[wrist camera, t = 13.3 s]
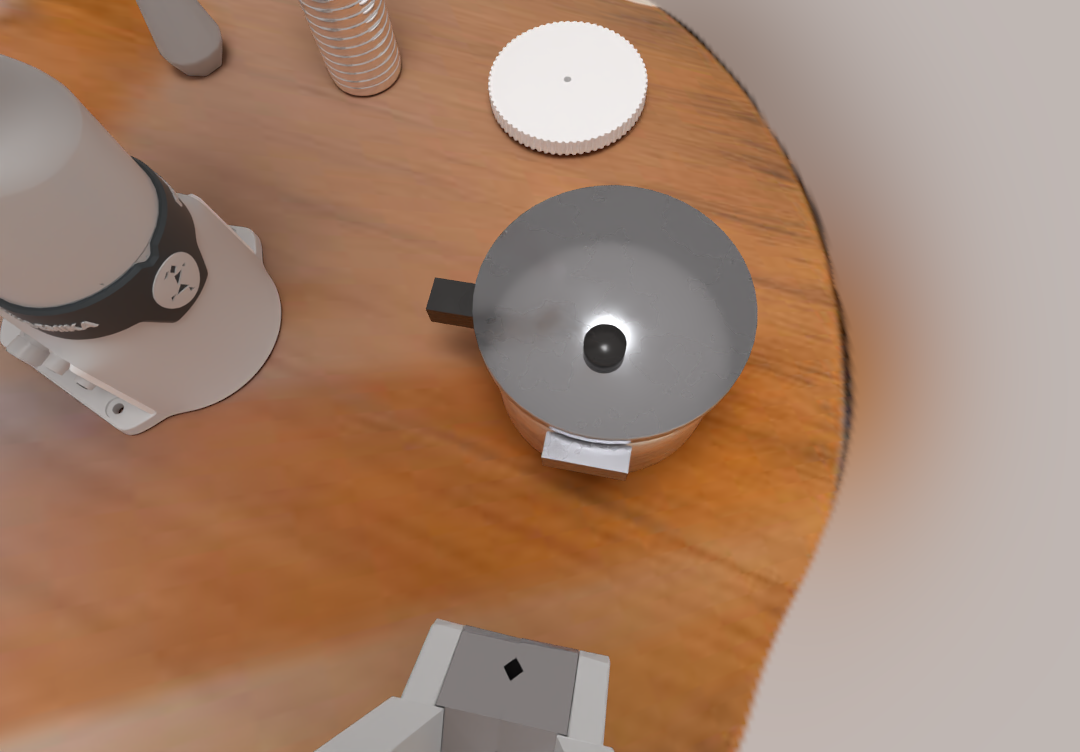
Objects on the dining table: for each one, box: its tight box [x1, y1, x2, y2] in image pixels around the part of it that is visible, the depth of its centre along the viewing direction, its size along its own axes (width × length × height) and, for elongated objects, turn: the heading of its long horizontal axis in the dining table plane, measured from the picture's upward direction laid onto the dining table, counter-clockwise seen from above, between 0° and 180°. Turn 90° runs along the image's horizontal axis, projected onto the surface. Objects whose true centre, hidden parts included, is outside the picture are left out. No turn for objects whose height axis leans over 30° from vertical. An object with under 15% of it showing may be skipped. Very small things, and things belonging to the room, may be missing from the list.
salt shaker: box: [136, 0, 222, 76], centre depth 57 cm, size 6×6×13 cm
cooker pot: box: [426, 278, 703, 481], centre depth 45 cm, size 20×18×10 cm
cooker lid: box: [472, 185, 757, 444], centre depth 39 cm, size 17×17×3 cm
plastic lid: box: [488, 21, 648, 155], centre depth 59 cm, size 14×14×2 cm
